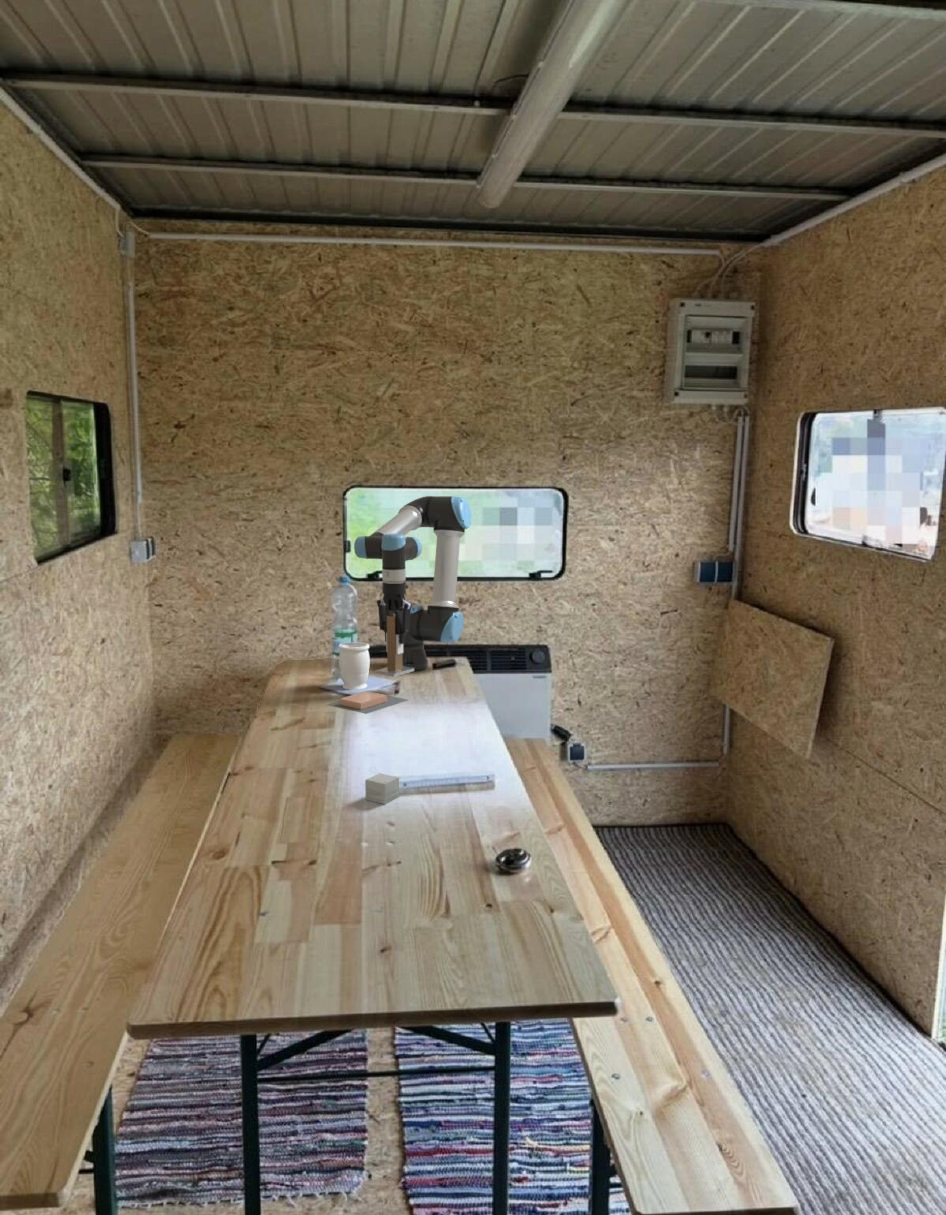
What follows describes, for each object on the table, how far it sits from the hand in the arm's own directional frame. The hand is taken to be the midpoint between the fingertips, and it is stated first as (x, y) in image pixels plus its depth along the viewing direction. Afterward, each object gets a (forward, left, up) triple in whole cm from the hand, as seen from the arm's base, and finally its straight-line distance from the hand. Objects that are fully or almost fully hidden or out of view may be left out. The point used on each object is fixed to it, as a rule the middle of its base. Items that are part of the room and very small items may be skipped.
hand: (394, 652), depth 284 cm
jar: (+1, -17, -15) cm, 23 cm away
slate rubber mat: (+13, 0, -14) cm, 19 cm away
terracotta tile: (+9, 0, -13) cm, 16 cm away
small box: (+70, +58, -15) cm, 92 cm away
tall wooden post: (0, 0, -7) cm, 7 cm away
